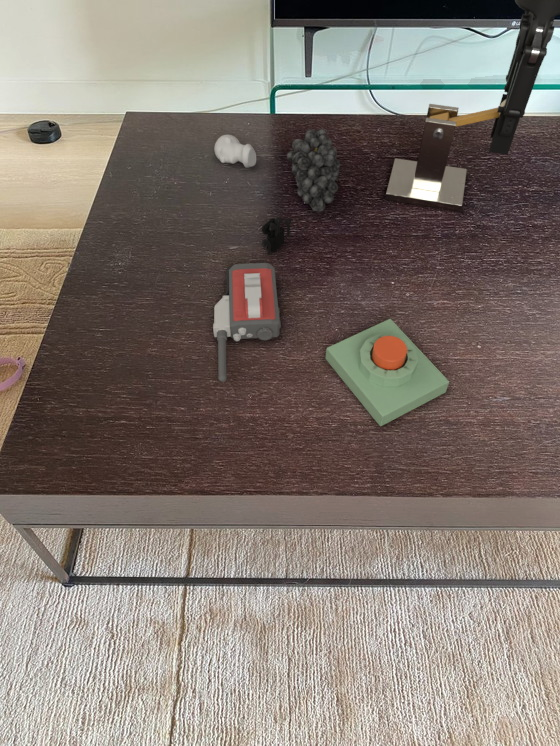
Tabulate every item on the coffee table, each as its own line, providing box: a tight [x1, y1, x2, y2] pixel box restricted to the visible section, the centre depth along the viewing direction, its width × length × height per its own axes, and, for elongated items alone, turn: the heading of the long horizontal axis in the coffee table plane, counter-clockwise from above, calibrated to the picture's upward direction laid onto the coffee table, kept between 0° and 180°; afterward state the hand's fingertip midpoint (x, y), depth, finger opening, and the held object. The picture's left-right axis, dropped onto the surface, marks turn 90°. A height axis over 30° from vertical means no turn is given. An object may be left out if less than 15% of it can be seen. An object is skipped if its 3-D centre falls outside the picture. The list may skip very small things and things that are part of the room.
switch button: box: [372, 336, 407, 370], centre depth 75 cm, size 4×4×2 cm
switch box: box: [325, 318, 450, 427], centre depth 77 cm, size 12×10×4 cm
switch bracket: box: [384, 103, 468, 213], centre depth 97 cm, size 12×10×13 cm
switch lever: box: [430, 100, 506, 128], centre depth 91 cm, size 13×3×3 cm, turn 76°
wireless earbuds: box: [261, 216, 292, 257], centre depth 91 cm, size 7×2×5 cm, turn 145°
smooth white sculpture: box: [213, 134, 257, 169], centre depth 105 cm, size 4×8×5 cm
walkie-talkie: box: [212, 262, 282, 383], centre depth 81 cm, size 9×4×20 cm
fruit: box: [286, 128, 341, 213], centre depth 98 cm, size 9×8×15 cm
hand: (499, 144), depth 93 cm, fingers closed on switch lever, 3 cm apart
